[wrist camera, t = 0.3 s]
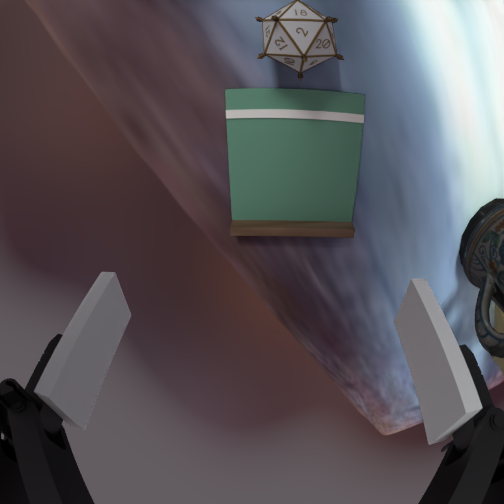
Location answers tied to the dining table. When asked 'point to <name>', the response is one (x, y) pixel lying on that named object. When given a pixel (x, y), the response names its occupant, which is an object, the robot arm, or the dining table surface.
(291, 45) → the game die
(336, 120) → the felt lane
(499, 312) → the seated figure statue
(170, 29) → the dining table surface
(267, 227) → the walnut backstop rail
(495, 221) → the beer stein
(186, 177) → the dining table surface
